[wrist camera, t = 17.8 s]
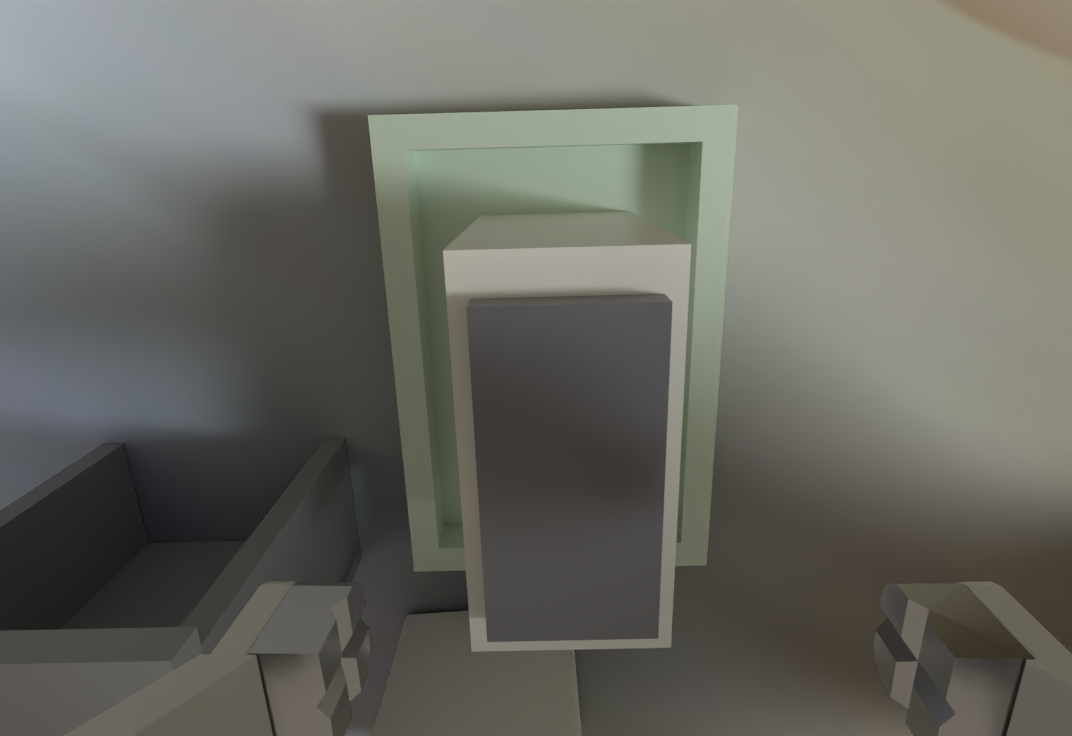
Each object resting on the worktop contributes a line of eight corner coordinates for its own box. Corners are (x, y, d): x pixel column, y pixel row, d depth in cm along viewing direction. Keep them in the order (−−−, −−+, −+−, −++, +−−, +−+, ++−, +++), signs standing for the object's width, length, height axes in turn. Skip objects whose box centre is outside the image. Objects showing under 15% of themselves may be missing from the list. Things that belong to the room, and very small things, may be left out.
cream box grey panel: (628, 211, 21) (701, 249, 12) (623, 476, 24) (677, 672, 15) (481, 215, 21) (436, 256, 12) (494, 479, 24) (468, 676, 15)
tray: (717, 110, 21) (738, 104, 19) (692, 531, 26) (706, 565, 23) (385, 120, 21) (367, 115, 19) (424, 536, 26) (414, 571, 24)
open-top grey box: (343, 426, 24) (171, 661, 13) (360, 559, 26) (224, 866, 15) (100, 432, 24) (-286, 669, 13) (134, 563, 26) (-176, 873, 15)
